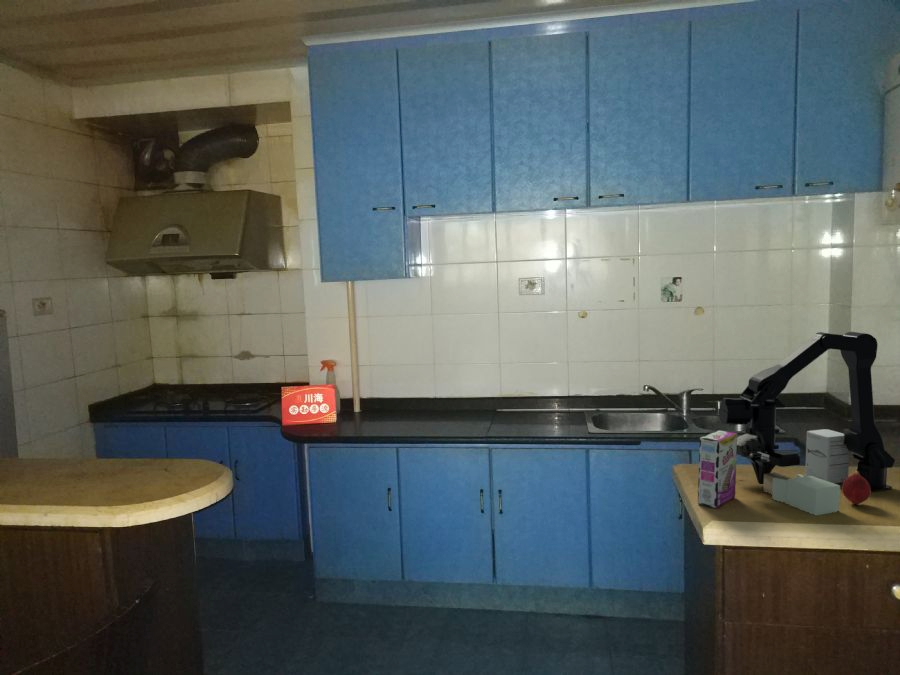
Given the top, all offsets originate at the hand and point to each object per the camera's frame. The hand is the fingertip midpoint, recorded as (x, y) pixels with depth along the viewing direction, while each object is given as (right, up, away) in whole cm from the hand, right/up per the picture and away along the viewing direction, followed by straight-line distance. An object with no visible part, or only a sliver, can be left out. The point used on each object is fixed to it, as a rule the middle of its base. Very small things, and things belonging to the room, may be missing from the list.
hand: (761, 483), depth 165 cm
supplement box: (+20, 0, +6) cm, 21 cm away
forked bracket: (+5, -2, -14) cm, 15 cm away
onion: (+16, -2, -13) cm, 21 cm away
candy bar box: (-15, -2, -9) cm, 18 cm away
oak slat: (+3, -2, -7) cm, 8 cm away
